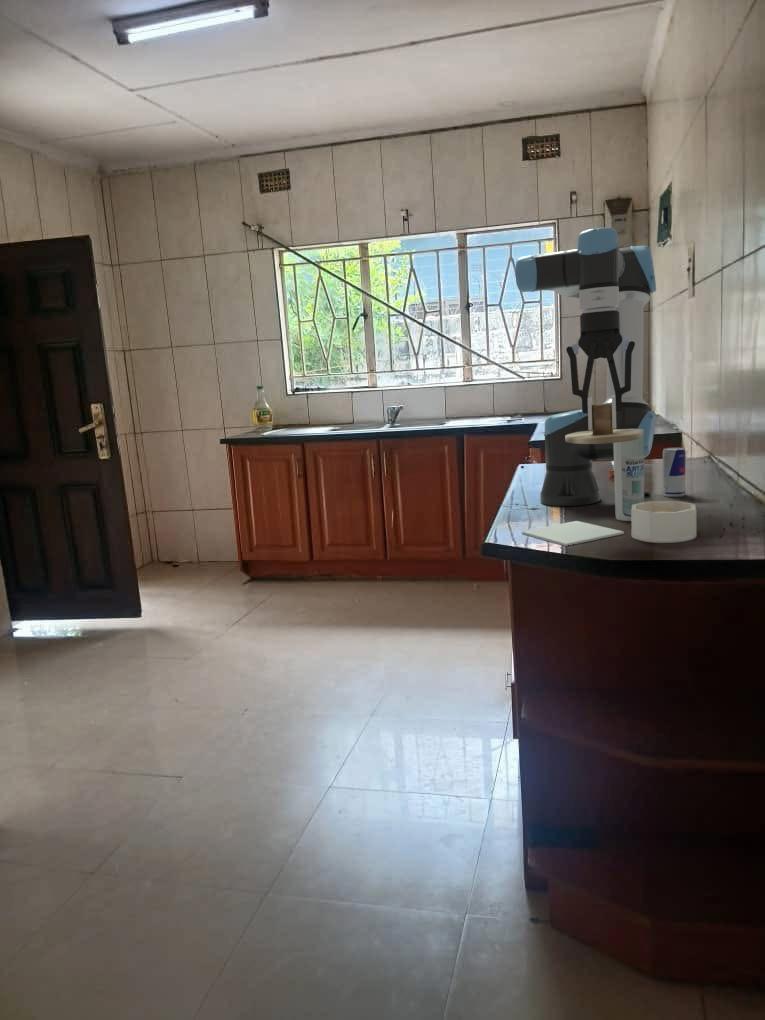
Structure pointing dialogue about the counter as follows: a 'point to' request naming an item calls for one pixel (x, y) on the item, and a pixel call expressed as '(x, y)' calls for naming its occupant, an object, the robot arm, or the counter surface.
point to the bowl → (663, 521)
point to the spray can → (628, 476)
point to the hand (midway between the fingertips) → (602, 428)
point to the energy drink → (674, 472)
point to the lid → (602, 429)
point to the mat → (572, 533)
